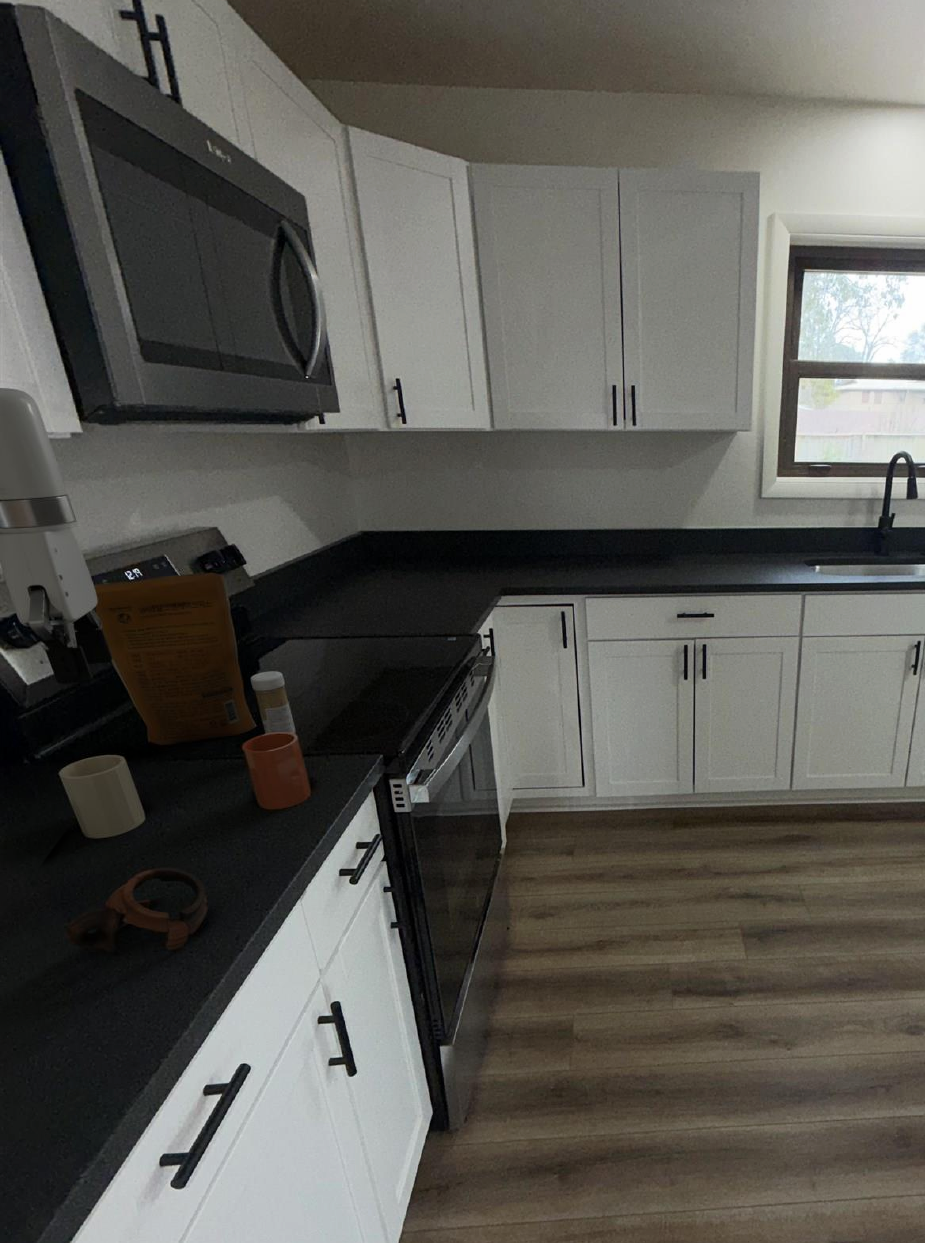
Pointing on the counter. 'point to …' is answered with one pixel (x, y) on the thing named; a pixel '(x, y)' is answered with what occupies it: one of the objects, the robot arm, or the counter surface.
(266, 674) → the sprinkles bottle
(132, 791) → the cream cup
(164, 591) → the pancake mix bag
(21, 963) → the counter surface
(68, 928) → the reddish-brown ring-shaped piece
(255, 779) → the terracotta cup
